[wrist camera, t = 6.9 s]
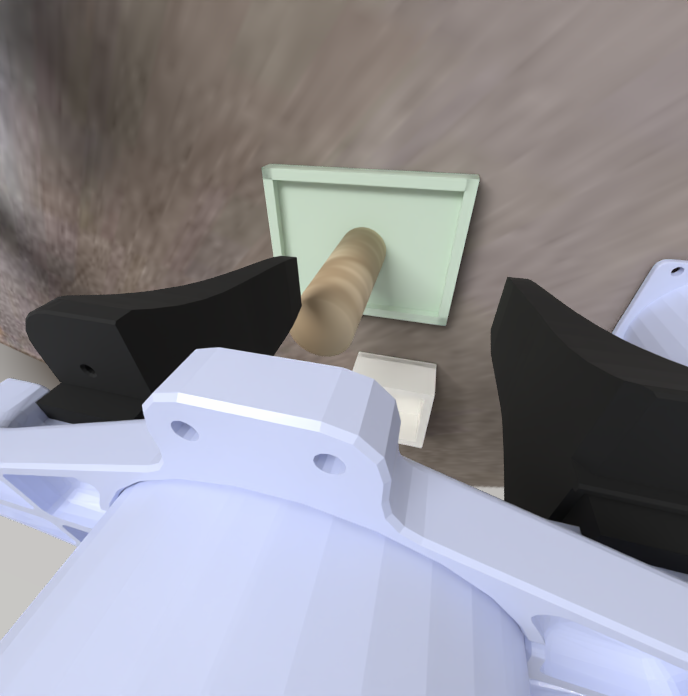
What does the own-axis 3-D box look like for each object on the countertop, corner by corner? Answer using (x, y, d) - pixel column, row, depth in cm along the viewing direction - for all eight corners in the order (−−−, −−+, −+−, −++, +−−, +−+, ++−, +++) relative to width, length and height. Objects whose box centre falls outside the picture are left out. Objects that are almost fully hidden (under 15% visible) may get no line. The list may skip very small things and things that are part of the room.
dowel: (387, 228, 20) (352, 302, 13) (385, 274, 22) (353, 360, 15) (339, 226, 21) (282, 295, 14) (341, 270, 23) (292, 352, 16)
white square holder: (436, 363, 26) (434, 395, 23) (424, 415, 30) (421, 448, 27) (359, 351, 27) (349, 380, 25) (357, 403, 31) (348, 432, 28)
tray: (478, 174, 18) (479, 179, 17) (446, 316, 23) (445, 326, 22) (270, 163, 20) (261, 167, 19) (286, 295, 26) (280, 303, 25)
